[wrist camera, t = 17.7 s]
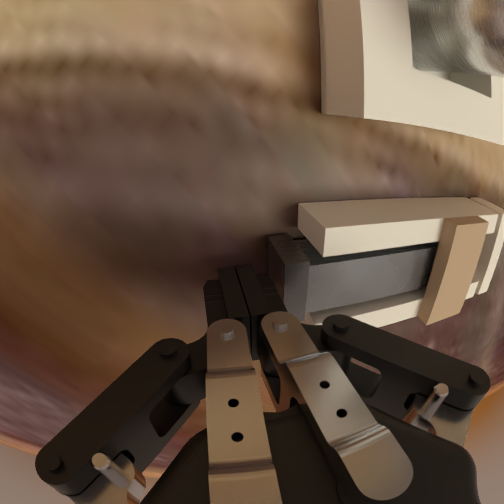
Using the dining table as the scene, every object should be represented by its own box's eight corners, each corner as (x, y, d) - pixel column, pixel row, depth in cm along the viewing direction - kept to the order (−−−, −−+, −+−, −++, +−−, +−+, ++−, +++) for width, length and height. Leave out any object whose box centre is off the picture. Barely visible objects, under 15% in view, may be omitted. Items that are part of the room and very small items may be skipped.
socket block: (310, -66, 7) (342, -98, 4) (456, -9, 9) (496, -15, 6) (321, 113, 12) (363, 118, 9) (464, 134, 13) (508, 146, 10)
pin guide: (298, 203, 13) (336, 238, 10) (479, 197, 16) (520, 219, 12) (293, 306, 16) (319, 356, 13) (461, 270, 18) (494, 298, 15)
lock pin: (267, 235, 14) (285, 264, 11) (438, 220, 15) (468, 238, 13) (267, 290, 15) (282, 324, 13) (428, 263, 17) (454, 284, 14)
